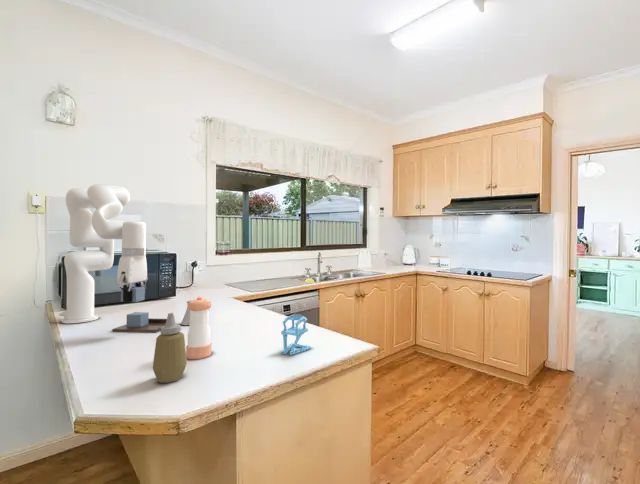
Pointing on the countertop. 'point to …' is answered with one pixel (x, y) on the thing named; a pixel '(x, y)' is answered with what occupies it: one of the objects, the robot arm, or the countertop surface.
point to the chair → (294, 334)
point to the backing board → (152, 326)
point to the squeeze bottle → (169, 352)
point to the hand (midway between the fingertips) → (132, 299)
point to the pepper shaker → (199, 329)
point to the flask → (186, 316)
